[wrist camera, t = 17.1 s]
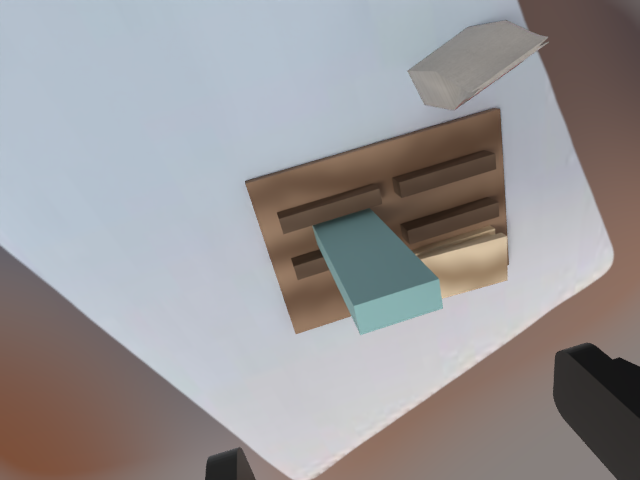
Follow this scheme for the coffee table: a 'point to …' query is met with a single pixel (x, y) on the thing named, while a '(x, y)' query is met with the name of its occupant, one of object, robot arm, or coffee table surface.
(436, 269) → the pine offcuts
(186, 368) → the coffee table surface
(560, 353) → the robot arm
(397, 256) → the teal panel
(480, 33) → the tea bag
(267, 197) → the walnut rack
